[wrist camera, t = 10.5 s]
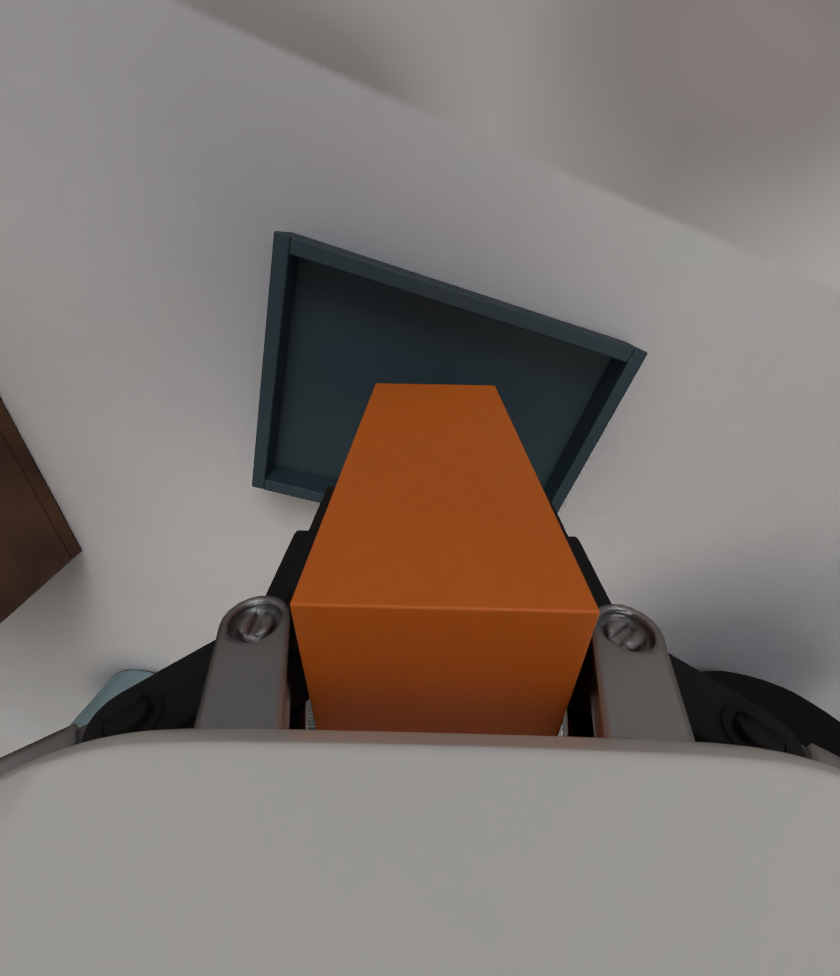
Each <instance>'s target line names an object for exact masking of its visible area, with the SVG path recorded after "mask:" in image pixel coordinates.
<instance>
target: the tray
mask: <svg viewBox="0 0 840 976" xmlns="http://www.w3.org/2000/svg"><path fill="white" fill-rule="evenodd" d="M646 355H647V352H645V351H643V350H641V349H639V348H637V347H635V346H633V345H631V344H629V343H627V342H624V341H621V340H618V339H615V338H612V337H609V336H606V335H603V334H600V333H597V332H594V331H591V330H588V329H585V328H582V327H579V326H575V325H572V324H569V323H566V322H563V321H560V320H557V319H554V318H551V317H548V316H545V315H542V314H539V313H536V312H533V311H530V310H527V309H524V308H521V307H518V306H514V305H511V304H508V303H505V302H502V301H499V300H496V299H493V298H490V297H487V296H484V295H481V294H478V293H475V292H472V291H469V290H466V289H463V288H460V287H457V286H454V285H450V284H447V283H444V282H441V281H438V280H435V279H432V278H429V277H426V276H423V275H420V274H417V273H414V272H411V271H408V270H405V269H402V268H399V267H396V266H393V265H389V264H386V263H383V262H380V261H377V260H374V259H371V258H368V257H365V256H362V255H359V254H356V253H353V252H350V251H347V250H344V249H341V248H338V247H335V246H332V245H329V244H325V243H322V242H319V241H316V240H313V239H310V238H307V237H304V236H301V235H298V234H295V233H292V232H279V231H275V232H274V241H273V252H272V263H271V275H270V286H269V298H268V309H267V320H266V332H265V343H264V355H263V366H262V378H261V389H260V400H259V412H258V423H257V435H256V446H255V458H254V469H253V480H252V486H253V487H258V488H262V489H265V490H269V491H273V492H278V493H282V494H286V495H290V496H294V497H298V498H302V499H306V500H310V501H315V502H319V503H321V501H322V498H323V496H324V494H325V491H326V489H327V487H328V486H333V487H336V484H337V482H338V479H339V477H340V474H341V471H342V469H343V466H344V464H345V461H346V459H347V456H348V453H349V451H350V448H351V446H352V443H353V441H354V438H355V435H356V433H357V430H358V428H359V425H360V423H361V420H362V417H363V415H364V412H365V410H366V407H367V405H368V402H369V400H370V397H371V394H372V392H373V389H374V387H375V384H376V383H392V384H445V385H494V386H495V387H496V389H497V391H498V394H499V396H500V398H501V400H502V402H503V404H504V407H505V409H506V411H507V413H508V415H509V417H510V419H511V422H512V424H513V426H514V428H515V430H516V432H517V434H518V437H519V439H520V441H521V443H522V445H523V447H524V450H525V452H526V454H527V456H528V458H529V460H530V462H531V465H532V467H533V469H534V471H535V473H536V475H537V477H538V480H539V482H540V484H541V486H542V488H543V490H544V491H546V492H547V493H548V495H549V497H550V500H551V502H552V504H553V506H554V508H555V510H556V512H558V511H559V509H560V507H561V505H562V504H563V502H564V500H565V498H566V497H567V495H568V493H569V491H570V490H571V488H572V486H573V484H574V482H575V481H576V479H577V477H578V475H579V474H580V472H581V470H582V468H583V467H584V465H585V463H586V461H587V459H588V458H589V456H590V454H591V452H592V451H593V449H594V447H595V445H596V444H597V442H598V440H599V438H600V437H601V435H602V433H603V431H604V429H605V428H606V426H607V424H608V422H609V421H610V419H611V417H612V415H613V414H614V412H615V410H616V408H617V406H618V405H619V403H620V401H621V399H622V398H623V396H624V394H625V392H626V391H627V389H628V387H629V385H630V384H631V382H632V380H633V378H634V376H635V375H636V373H637V371H638V369H639V368H640V366H641V364H642V362H643V361H644V359H645V357H646Z"/></svg>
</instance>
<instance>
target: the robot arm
mask: <svg viewBox="0 0 840 976" xmlns="http://www.w3.org/2000/svg"><path fill="white" fill-rule="evenodd" d="M334 489H335V487H333V486H328V487H327V489H326V491H325V494H324V496H323V498H322V501H321V503H320V505H319V508H318V510H317V513H316V515H315V517H314V520H313V522H312V524H311V527H310V529H309V531H300V530H298V531H296V533H295V534H294V536H293V538H292V540H291V542H290V545H289V547H288V549H287V551H286V553H285V555H284V557H283V560H282V562H281V564H280V566H279V568H278V570H277V572H276V575H275V577H274V579H273V581H272V583H271V585H270V587H269V590H268V592H267V594H266V596H258V597H254V598H250V599H247V600H245V601H243V602H240V603H238V604H237V605H236V606H234V607H233V608H232V609H230V610H229V611H228V612H227V614H226V615H225V616H224V617H223V619H222V621H221V623H220V625H219V629H218V633H217V637H216V640H214V641H212V642H211V643H209V644H207V645H205V646H203V647H202V648H200V649H198V650H196V651H195V652H193V653H191V654H189V655H187V656H186V657H184V658H182V659H180V660H178V661H177V662H175V663H173V664H171V665H169V666H168V667H166V668H164V669H162V670H161V671H159V672H157V673H155V674H153V675H152V676H150V677H148V678H146V679H144V680H143V681H141V682H139V683H137V684H135V685H134V686H132V687H130V688H128V689H127V690H125V691H123V692H121V693H120V694H118V695H117V696H115V697H114V698H112V699H111V700H109V701H108V702H106V703H105V704H104V705H103V706H102V707H101V708H100V709H99V710H98V711H97V712H96V713H95V715H94V716H93V717H92V719H91V720H90V722H89V723H88V724H87V725H85V726H82V727H80V728H79V727H78V725H77V724H76V723H75V724H73V725H70V726H68V727H66V728H64V729H62V730H60V731H57V732H55V733H53V734H51V735H49V736H47V737H44V738H42V739H40V740H38V741H36V742H34V743H31V744H29V745H27V746H25V747H23V748H21V749H19V750H16V751H14V752H12V753H10V754H8V755H6V756H3V757H1V758H0V976H840V757H839V756H837V755H835V754H833V753H831V752H829V751H827V750H825V749H823V748H821V747H819V746H817V745H815V744H813V743H811V744H810V745H809V746H808V747H807V748H806V747H804V746H803V745H801V743H800V742H799V741H798V739H797V738H796V737H795V735H794V734H793V733H792V731H791V730H790V729H788V728H787V727H786V726H785V725H784V724H783V723H782V722H781V721H780V720H779V719H778V718H776V717H775V716H773V715H772V714H770V713H769V712H767V711H766V710H764V709H763V708H761V707H759V706H758V705H756V704H754V703H752V702H751V701H749V700H747V699H746V698H744V697H742V696H741V695H739V694H737V693H735V692H734V691H732V690H730V689H729V688H727V687H725V686H724V685H722V684H720V683H718V682H717V681H715V680H713V679H712V678H710V677H708V676H707V675H705V674H703V673H701V672H700V671H698V670H696V669H695V668H693V667H691V666H689V665H688V664H686V663H684V662H683V661H681V660H679V659H678V658H676V657H674V656H672V655H671V654H669V653H668V650H667V647H666V644H665V640H664V637H663V635H662V633H661V631H660V629H659V628H658V627H657V625H656V624H655V623H654V622H653V621H652V620H651V619H650V618H648V617H647V616H646V615H644V614H643V613H641V612H639V611H637V610H635V609H633V608H630V607H627V606H624V605H617V604H611V602H610V600H609V598H608V596H607V594H606V592H605V590H604V589H603V587H602V585H601V583H600V581H599V579H598V577H597V575H596V573H595V571H594V569H593V567H592V565H591V563H590V561H589V559H588V557H587V555H586V553H585V551H584V549H583V547H582V545H581V543H580V541H579V540H578V538H576V537H569V536H568V535H567V533H566V531H565V529H564V527H563V525H562V523H561V521H560V518H559V516H558V514H557V512H556V510H555V508H554V506H553V504H552V502H551V500H550V497H549V495H548V493H547V492H546V491H544V493H545V495H546V497H547V499H548V501H549V503H550V505H551V508H552V510H553V512H554V514H555V516H556V518H557V521H558V523H559V525H560V527H561V529H562V531H563V533H564V536H565V538H566V540H567V542H568V544H569V546H570V548H571V551H572V553H573V555H574V557H575V559H576V561H577V564H578V566H579V568H580V570H581V572H582V574H583V576H584V579H585V581H586V583H587V585H588V587H589V589H590V591H591V594H592V596H593V598H594V600H595V602H596V604H597V607H598V609H599V612H600V613H599V617H598V620H597V623H596V626H595V628H594V631H593V634H592V637H591V640H590V643H589V646H588V649H587V652H586V655H585V658H584V661H583V663H582V666H581V669H580V672H579V675H578V678H577V681H576V684H575V687H574V690H573V693H572V696H571V699H570V701H569V704H568V707H567V710H566V713H565V716H564V719H563V722H562V725H563V736H533V735H499V734H463V733H425V732H387V731H342V730H308V726H309V701H308V700H309V699H310V698H309V693H308V688H307V684H306V679H305V674H304V669H303V665H302V660H301V655H300V651H299V646H298V641H297V637H296V632H295V627H294V622H293V618H292V613H291V608H290V602H291V600H292V597H293V595H294V592H295V589H296V587H297V584H298V582H299V579H300V577H301V574H302V571H303V569H304V566H305V564H306V561H307V559H308V556H309V554H310V551H311V548H312V546H313V543H314V541H315V538H316V536H317V533H318V530H319V528H320V525H321V523H322V520H323V518H324V515H325V512H326V510H327V507H328V505H329V502H330V500H331V497H332V494H333V492H334Z"/></svg>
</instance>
